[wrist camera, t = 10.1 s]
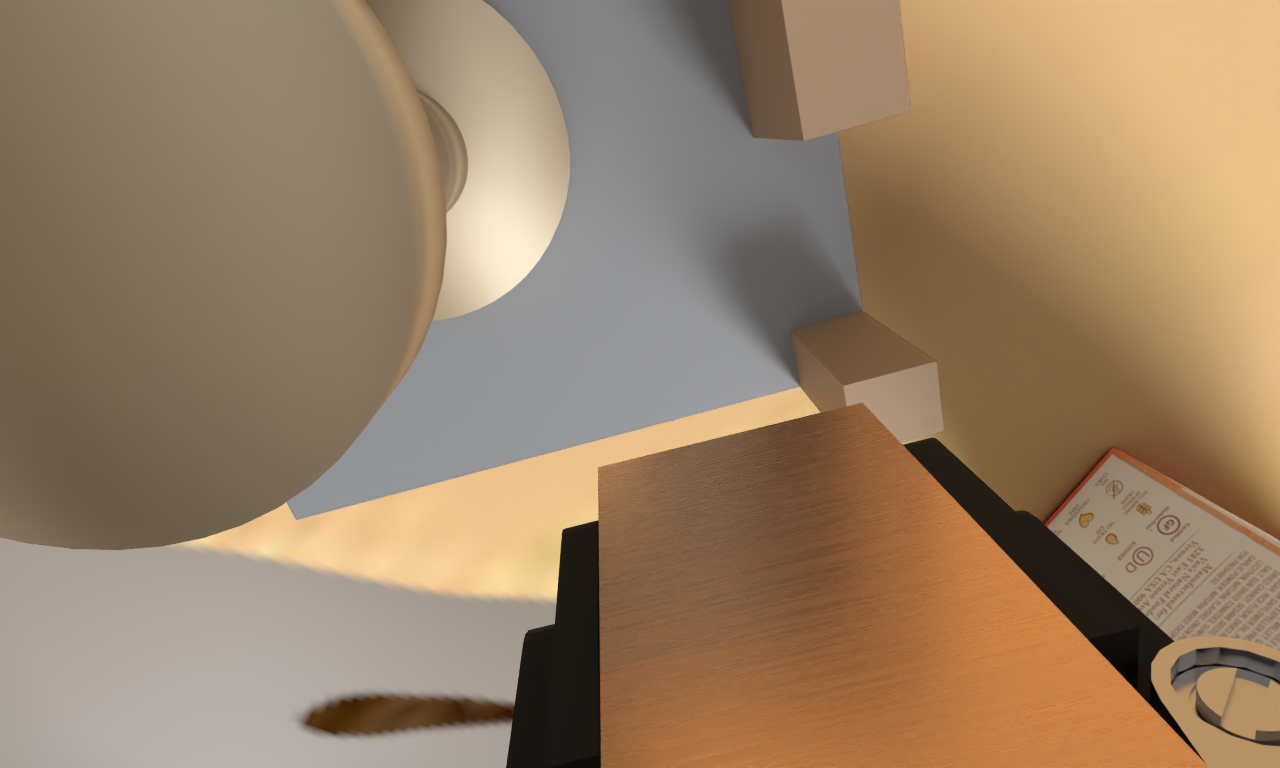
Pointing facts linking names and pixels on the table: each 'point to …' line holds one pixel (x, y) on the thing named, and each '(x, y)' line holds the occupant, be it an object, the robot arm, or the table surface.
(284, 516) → the table surface
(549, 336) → the grey board with ledge
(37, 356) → the bobbin
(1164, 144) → the table surface
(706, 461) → the copper block
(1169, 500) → the cracker box
